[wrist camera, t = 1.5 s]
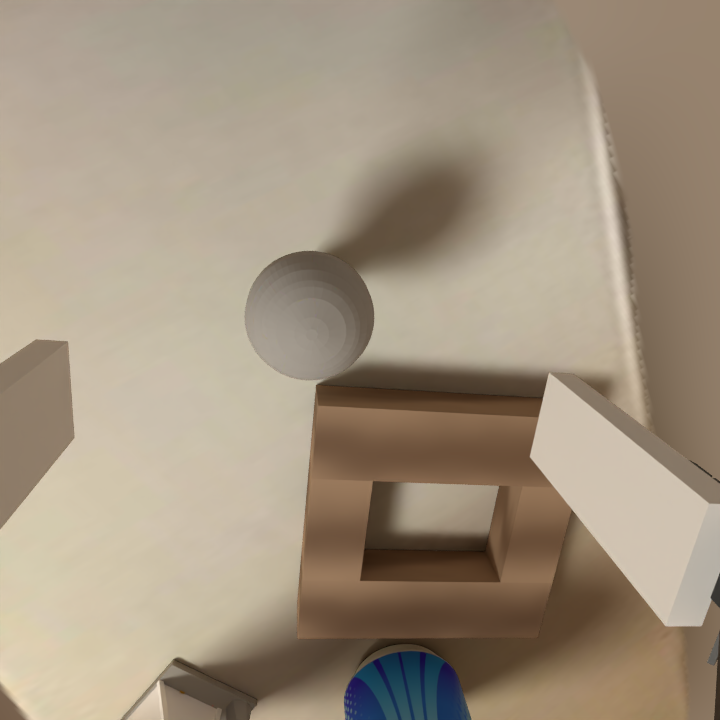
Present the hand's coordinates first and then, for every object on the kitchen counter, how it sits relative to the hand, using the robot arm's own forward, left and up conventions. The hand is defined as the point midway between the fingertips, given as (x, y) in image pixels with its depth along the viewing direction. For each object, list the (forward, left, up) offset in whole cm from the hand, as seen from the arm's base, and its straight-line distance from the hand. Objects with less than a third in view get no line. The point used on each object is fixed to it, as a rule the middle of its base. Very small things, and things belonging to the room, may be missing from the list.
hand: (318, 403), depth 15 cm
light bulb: (0, 0, -16) cm, 17 cm away
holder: (+14, +9, -16) cm, 23 cm away
